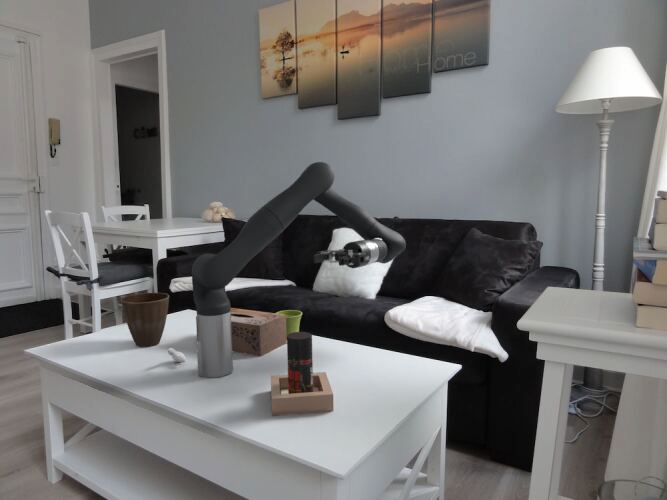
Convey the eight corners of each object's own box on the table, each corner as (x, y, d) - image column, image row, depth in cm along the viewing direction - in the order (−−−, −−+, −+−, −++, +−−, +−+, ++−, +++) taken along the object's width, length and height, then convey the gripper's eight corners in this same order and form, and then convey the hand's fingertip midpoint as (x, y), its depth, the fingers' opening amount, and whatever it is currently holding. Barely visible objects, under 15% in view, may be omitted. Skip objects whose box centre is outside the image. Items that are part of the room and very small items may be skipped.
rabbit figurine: (190, 359, 149) (188, 355, 141) (182, 370, 147) (180, 367, 140) (173, 348, 149) (170, 344, 141) (165, 360, 147) (162, 356, 140)
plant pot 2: (298, 342, 163) (298, 317, 162) (271, 341, 165) (271, 316, 164) (305, 334, 172) (305, 310, 171) (280, 333, 174) (279, 309, 173)
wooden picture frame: (272, 415, 111) (271, 398, 110) (271, 390, 124) (270, 375, 124) (333, 410, 113) (333, 394, 112) (325, 386, 126) (325, 371, 126)
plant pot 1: (181, 341, 166) (178, 295, 164) (143, 354, 154) (140, 304, 152) (152, 335, 174) (150, 290, 172) (114, 346, 162) (111, 299, 160)
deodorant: (288, 391, 121) (287, 332, 119) (312, 390, 122) (311, 331, 120) (288, 401, 115) (286, 339, 113) (313, 400, 116) (312, 338, 114)
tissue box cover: (197, 346, 162) (195, 316, 161) (226, 334, 175) (224, 307, 174) (260, 357, 150) (259, 325, 149) (286, 344, 163) (285, 314, 162)
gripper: (340, 239, 146) (305, 244, 133) (381, 241, 137) (348, 247, 124) (341, 264, 147) (306, 272, 134) (381, 268, 138) (349, 277, 125)
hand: (326, 260), depth 129 cm, fingers open, 8 cm apart
